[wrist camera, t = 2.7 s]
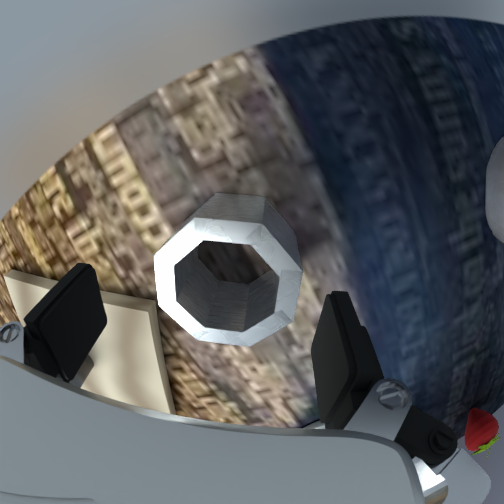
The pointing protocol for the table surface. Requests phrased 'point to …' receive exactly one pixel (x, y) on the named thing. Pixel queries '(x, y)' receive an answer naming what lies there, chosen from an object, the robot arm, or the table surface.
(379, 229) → the table surface
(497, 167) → the pillar candle
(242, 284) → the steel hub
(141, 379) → the post board
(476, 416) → the strawberry
